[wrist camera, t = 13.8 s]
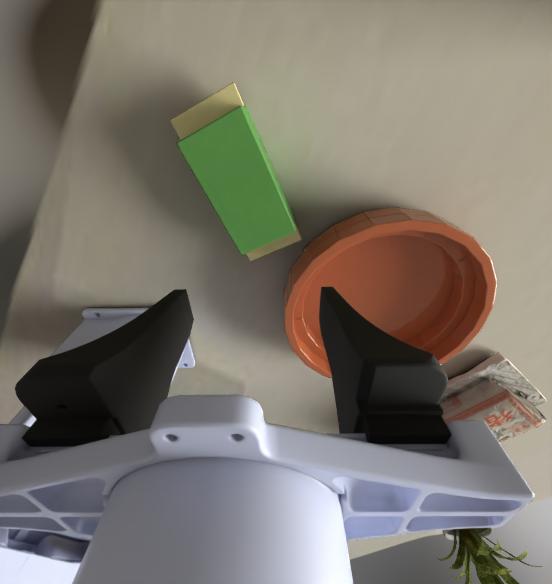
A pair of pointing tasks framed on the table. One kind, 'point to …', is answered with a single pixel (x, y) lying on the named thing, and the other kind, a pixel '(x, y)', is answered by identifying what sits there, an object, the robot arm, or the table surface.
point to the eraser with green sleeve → (236, 173)
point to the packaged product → (494, 398)
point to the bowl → (393, 282)
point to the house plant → (479, 556)
